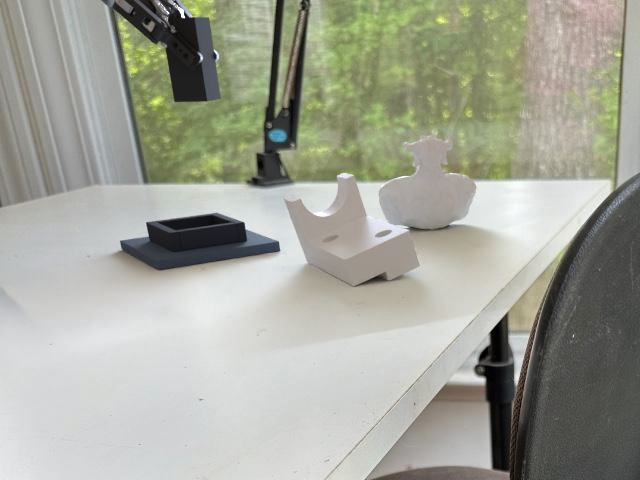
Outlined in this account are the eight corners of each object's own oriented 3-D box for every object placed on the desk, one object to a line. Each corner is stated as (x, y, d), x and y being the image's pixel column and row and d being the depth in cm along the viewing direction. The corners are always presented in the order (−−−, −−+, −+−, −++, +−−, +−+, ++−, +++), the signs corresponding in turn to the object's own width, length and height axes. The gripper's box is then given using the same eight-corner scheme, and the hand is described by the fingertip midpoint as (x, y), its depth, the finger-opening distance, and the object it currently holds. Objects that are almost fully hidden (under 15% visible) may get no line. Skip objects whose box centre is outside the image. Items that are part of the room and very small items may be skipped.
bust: (383, 250, 110) (386, 178, 99) (373, 201, 112) (375, 126, 101) (478, 242, 111) (491, 170, 101) (466, 194, 114) (478, 120, 103)
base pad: (121, 249, 105) (115, 222, 103) (234, 233, 111) (230, 206, 109) (158, 270, 95) (152, 240, 93) (280, 250, 101) (276, 222, 99)
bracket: (310, 270, 96) (283, 198, 91) (367, 244, 98) (344, 172, 93) (357, 295, 86) (330, 216, 82) (420, 266, 88) (397, 187, 83)
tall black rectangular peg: (174, 102, 115) (160, 18, 110) (189, 99, 118) (176, 18, 114) (207, 101, 114) (194, 17, 109) (221, 99, 118) (209, 17, 113)
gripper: (110, -20, 117) (213, 85, 121) (50, -24, 105) (166, 92, 110) (139, -73, 113) (244, 37, 118) (80, -83, 101) (199, 39, 106)
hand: (206, 63), depth 114 cm, fingers closed on tall black rectangular peg, 4 cm apart
